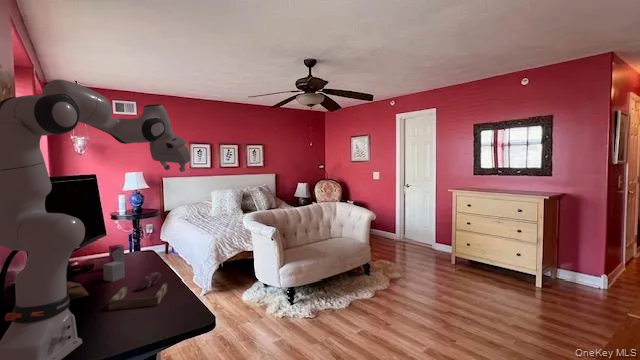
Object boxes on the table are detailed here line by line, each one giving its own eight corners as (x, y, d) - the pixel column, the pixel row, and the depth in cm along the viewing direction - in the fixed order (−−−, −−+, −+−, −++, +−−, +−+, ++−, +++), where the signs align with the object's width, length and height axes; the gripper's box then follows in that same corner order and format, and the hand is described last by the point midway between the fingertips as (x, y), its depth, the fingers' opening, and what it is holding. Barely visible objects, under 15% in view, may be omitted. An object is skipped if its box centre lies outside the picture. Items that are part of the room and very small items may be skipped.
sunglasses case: (90, 294, 133) (80, 282, 131) (72, 308, 129) (61, 296, 126) (80, 283, 146) (70, 273, 143) (63, 296, 141) (53, 285, 139)
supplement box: (122, 265, 173) (121, 243, 172) (125, 268, 168) (124, 245, 168) (109, 267, 169) (108, 245, 168) (111, 270, 164) (111, 247, 164)
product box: (115, 276, 156) (115, 260, 156) (125, 277, 154) (124, 262, 154) (103, 280, 150) (102, 264, 150) (112, 282, 148) (112, 265, 148)
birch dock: (157, 305, 123) (157, 297, 123) (108, 309, 119) (108, 301, 119) (167, 290, 138) (167, 283, 138) (124, 293, 134) (123, 286, 134)
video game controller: (143, 294, 138) (149, 279, 137) (134, 288, 139) (140, 274, 138) (159, 285, 147) (165, 272, 147) (151, 280, 148) (157, 267, 147)
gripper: (142, 142, 143) (153, 171, 149) (176, 145, 135) (186, 175, 141) (154, 137, 148) (164, 165, 154) (187, 139, 140) (196, 169, 146)
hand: (175, 170), depth 148 cm, fingers open, 8 cm apart
